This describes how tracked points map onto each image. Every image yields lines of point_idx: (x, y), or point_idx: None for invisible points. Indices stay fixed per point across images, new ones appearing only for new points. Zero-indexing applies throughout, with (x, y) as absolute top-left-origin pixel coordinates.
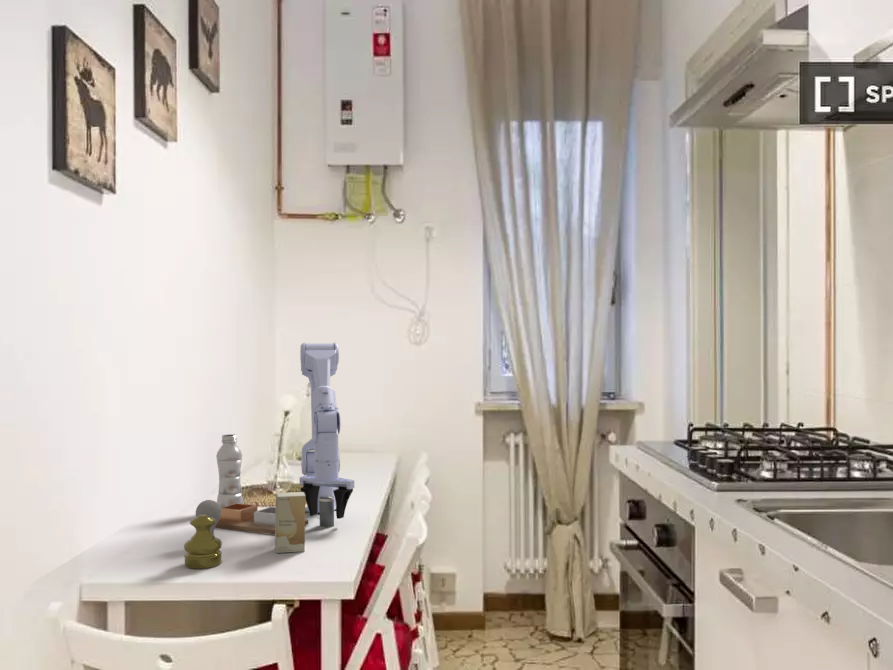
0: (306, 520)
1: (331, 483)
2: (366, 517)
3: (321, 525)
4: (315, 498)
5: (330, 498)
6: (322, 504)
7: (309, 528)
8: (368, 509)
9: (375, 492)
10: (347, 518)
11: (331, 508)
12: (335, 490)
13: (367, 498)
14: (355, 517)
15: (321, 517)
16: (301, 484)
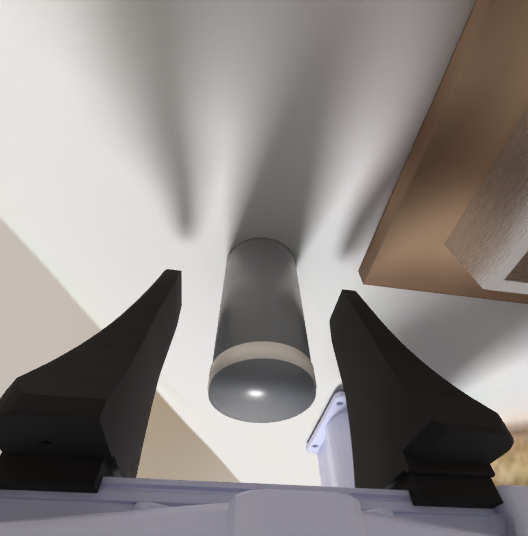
0: (370, 274)
1: (122, 521)
2: (176, 386)
3: (275, 244)
4: (356, 392)
5: (215, 376)
6: (271, 325)
7: (327, 201)
8: (225, 441)
9: None
10: None
11: (219, 322)
12: (73, 419)
13: None
14: None
15: (277, 269)
16: (519, 491)
